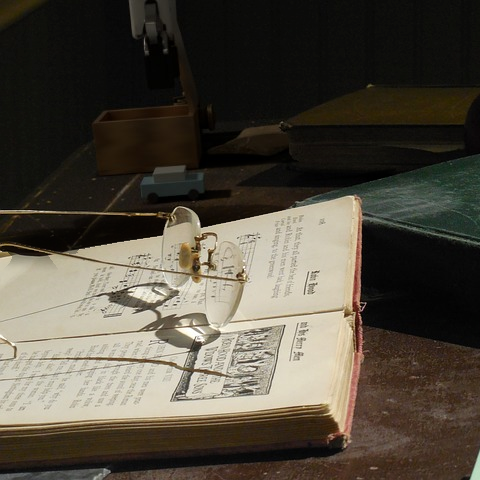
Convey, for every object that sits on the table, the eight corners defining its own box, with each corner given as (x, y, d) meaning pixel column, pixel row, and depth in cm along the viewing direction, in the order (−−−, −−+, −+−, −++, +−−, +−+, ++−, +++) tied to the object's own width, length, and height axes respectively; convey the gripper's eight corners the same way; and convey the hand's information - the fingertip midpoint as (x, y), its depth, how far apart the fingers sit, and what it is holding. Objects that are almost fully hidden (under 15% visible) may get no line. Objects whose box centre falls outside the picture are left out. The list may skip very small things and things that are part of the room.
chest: (99, 175, 139) (91, 123, 137) (109, 159, 150) (103, 110, 148) (198, 168, 140) (193, 115, 138) (202, 152, 151) (197, 103, 149)
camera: (212, 151, 152) (207, 101, 149) (170, 154, 152) (164, 104, 149) (220, 132, 167) (216, 87, 165) (182, 134, 167) (177, 89, 165)
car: (142, 204, 122) (138, 176, 120) (146, 194, 126) (142, 167, 125) (204, 199, 122) (201, 170, 121) (206, 189, 127) (203, 162, 126)
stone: (309, 143, 153) (307, 123, 152) (252, 163, 140) (251, 141, 139) (253, 140, 158) (252, 121, 157) (194, 159, 146) (192, 138, 145)
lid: (159, 6, 133) (165, 5, 133) (166, 2, 144) (171, 1, 144) (190, 113, 138) (195, 111, 138) (194, 101, 149) (199, 100, 149)
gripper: (124, -56, 123) (142, 77, 128) (106, -57, 106) (127, 96, 111) (182, -61, 123) (198, 72, 128) (173, -62, 107) (191, 90, 112)
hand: (165, 83), depth 120 cm, fingers open, 9 cm apart
